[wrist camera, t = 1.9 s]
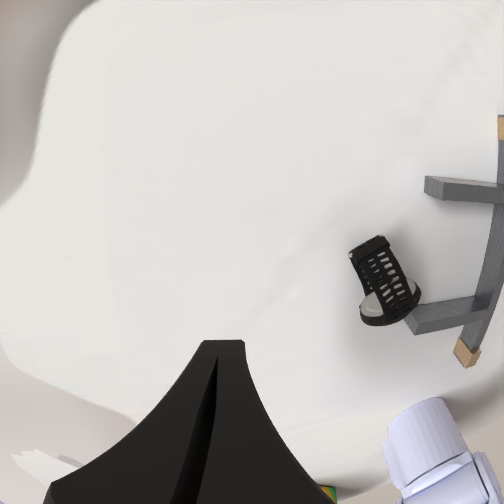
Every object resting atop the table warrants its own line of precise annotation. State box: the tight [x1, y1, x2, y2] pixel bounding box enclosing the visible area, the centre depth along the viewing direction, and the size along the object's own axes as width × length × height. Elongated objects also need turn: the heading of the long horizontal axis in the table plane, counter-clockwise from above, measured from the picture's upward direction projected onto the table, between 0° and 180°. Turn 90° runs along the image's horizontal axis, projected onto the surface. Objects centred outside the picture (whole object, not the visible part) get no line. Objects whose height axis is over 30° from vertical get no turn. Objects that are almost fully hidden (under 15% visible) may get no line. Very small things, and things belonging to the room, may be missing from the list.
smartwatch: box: [348, 235, 421, 326], centre depth 14 cm, size 4×5×5 cm
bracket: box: [403, 115, 504, 368], centre depth 15 cm, size 20×8×2 cm, turn 3°
